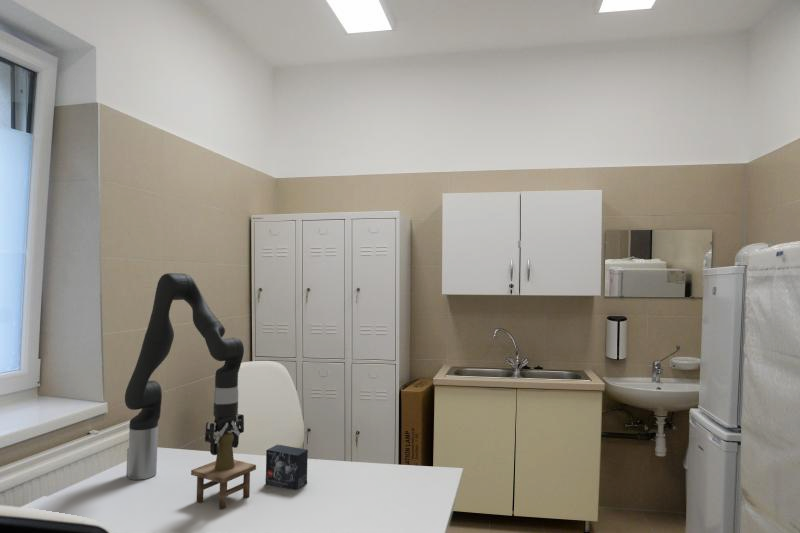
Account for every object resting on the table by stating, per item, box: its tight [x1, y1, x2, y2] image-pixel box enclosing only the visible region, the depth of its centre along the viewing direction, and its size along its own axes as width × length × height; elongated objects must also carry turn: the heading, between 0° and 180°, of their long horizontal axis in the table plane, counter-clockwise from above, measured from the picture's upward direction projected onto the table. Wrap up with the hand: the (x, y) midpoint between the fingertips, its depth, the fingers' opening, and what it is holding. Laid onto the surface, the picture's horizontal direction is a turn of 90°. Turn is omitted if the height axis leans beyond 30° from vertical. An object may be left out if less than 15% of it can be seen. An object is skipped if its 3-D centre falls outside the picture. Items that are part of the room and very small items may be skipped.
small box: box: [265, 444, 309, 491], centre depth 183 cm, size 13×7×12 cm, turn 68°
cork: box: [215, 432, 235, 470], centre depth 170 cm, size 6×6×11 cm
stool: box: [190, 459, 257, 510], centre depth 170 cm, size 14×14×10 cm
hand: (224, 450), depth 170 cm, fingers open, 8 cm apart
